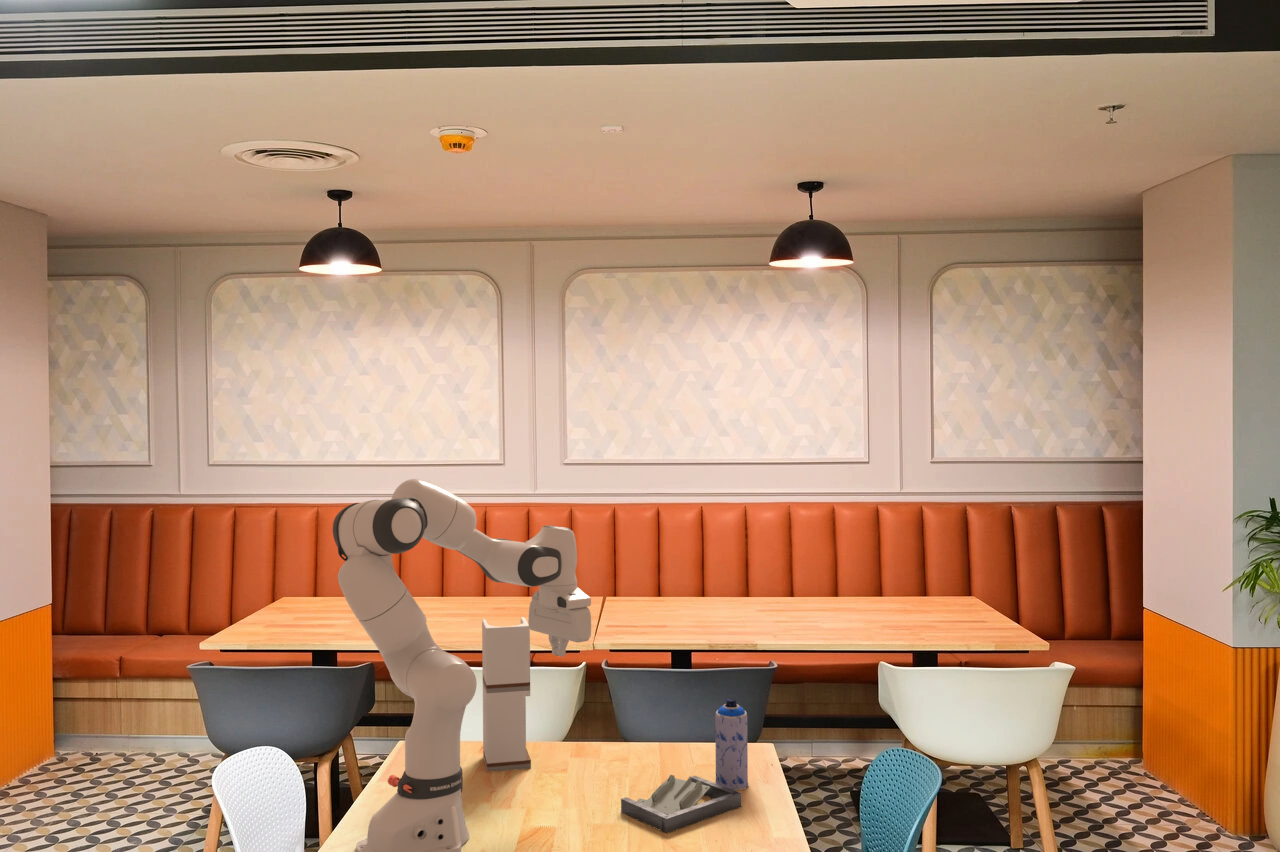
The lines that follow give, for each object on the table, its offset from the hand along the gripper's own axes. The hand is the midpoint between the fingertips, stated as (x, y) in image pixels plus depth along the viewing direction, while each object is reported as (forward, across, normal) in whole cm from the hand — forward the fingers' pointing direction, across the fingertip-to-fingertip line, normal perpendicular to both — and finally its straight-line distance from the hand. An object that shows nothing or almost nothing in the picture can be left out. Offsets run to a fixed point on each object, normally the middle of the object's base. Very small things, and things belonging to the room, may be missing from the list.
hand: (558, 655), depth 241 cm
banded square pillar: (+31, -24, +1) cm, 40 cm away
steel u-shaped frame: (+31, +27, +13) cm, 43 cm away
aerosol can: (+31, +24, +32) cm, 51 cm away
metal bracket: (+32, +24, +14) cm, 43 cm away
